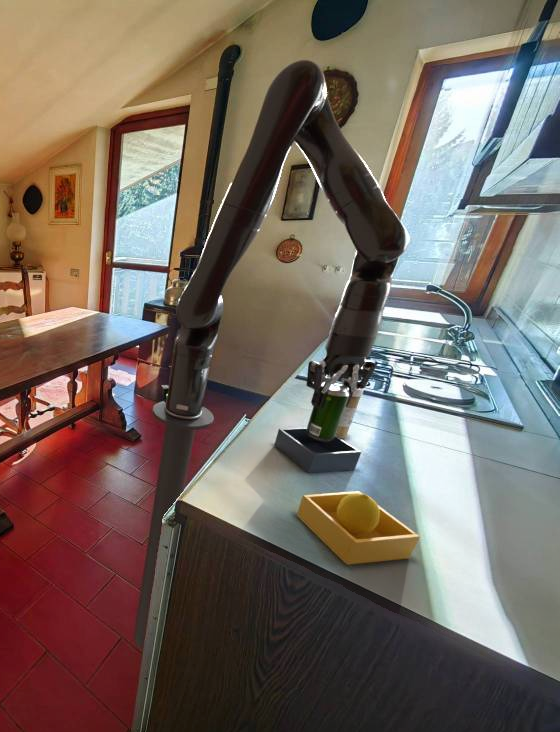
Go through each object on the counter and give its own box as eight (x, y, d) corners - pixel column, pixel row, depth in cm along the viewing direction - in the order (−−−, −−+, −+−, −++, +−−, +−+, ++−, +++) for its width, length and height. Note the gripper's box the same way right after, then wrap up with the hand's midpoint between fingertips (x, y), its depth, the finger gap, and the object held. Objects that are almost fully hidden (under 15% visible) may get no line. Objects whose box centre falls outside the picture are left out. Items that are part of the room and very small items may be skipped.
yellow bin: (296, 515, 71) (302, 495, 69) (350, 510, 73) (358, 490, 71) (346, 564, 61) (356, 542, 59) (409, 558, 62) (420, 536, 61)
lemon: (345, 518, 70) (360, 481, 67) (378, 540, 65) (395, 502, 62) (322, 524, 68) (336, 487, 65) (354, 548, 63) (370, 509, 60)
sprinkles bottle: (334, 428, 102) (350, 381, 97) (351, 437, 98) (369, 388, 93) (320, 431, 100) (336, 383, 95) (337, 440, 96) (355, 390, 91)
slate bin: (273, 445, 94) (278, 428, 92) (316, 443, 95) (321, 426, 93) (308, 473, 83) (314, 454, 82) (354, 469, 85) (361, 451, 83)
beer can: (327, 444, 84) (344, 394, 79) (300, 434, 88) (315, 385, 83) (338, 437, 86) (355, 388, 82) (311, 427, 91) (327, 380, 86)
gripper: (369, 325, 82) (344, 398, 89) (307, 326, 80) (286, 400, 87) (403, 334, 75) (373, 412, 82) (336, 336, 73) (311, 416, 80)
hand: (328, 406), depth 84 cm, fingers closed on beer can, 5 cm apart
